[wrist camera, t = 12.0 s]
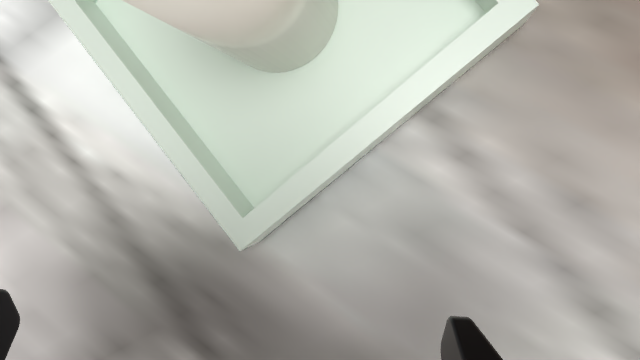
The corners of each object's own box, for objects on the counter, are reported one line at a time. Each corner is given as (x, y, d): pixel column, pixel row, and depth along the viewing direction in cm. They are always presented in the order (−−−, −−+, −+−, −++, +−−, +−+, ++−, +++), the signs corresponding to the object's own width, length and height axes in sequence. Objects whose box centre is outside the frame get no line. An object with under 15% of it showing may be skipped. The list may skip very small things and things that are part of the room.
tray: (524, 23, 20) (539, 4, 18) (259, 242, 23) (239, 251, 20) (301, -229, 22) (286, -278, 19) (76, 5, 24) (38, -13, 22)
